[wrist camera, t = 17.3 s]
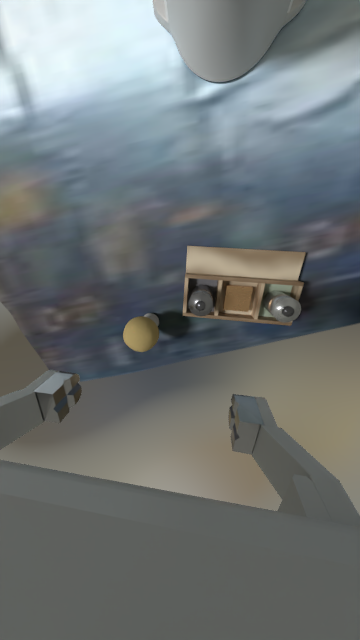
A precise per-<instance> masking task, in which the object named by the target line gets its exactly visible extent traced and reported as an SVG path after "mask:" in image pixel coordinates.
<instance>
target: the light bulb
mask: <svg viewBox="0 0 360 640" xmlns="http://www.w3.org/2000/svg"><path fill="white" fill-rule="evenodd" d="M158 325H159V319H158V317H157V316H156V315H155V314H152V313H148V314H146V315H144V316H140V317H136V318H133V319H131V320H130V321H129V322H128V323H127V325H126V326H125V329H124V332H123V338H124V341H125V343H126V344H127V345H128V346H129V347H130V348H131V349H133V350H135V351H139V352H144V351H147V350H149V349H151V348H152V347H153V346H154V345H155V344H156V343H157V340H158V338H159V330H158Z"/></svg>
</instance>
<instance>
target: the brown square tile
mask: <svg viewBox="0 0 360 640" xmlns="http://www.w3.org/2000/svg"><path fill="white" fill-rule="evenodd" d="M252 291H253V287H251V286H238V285H226V291H225V298H224V304H223V310H232V311H243V312H248V311H249V306H250V301H251V296H252Z"/></svg>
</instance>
